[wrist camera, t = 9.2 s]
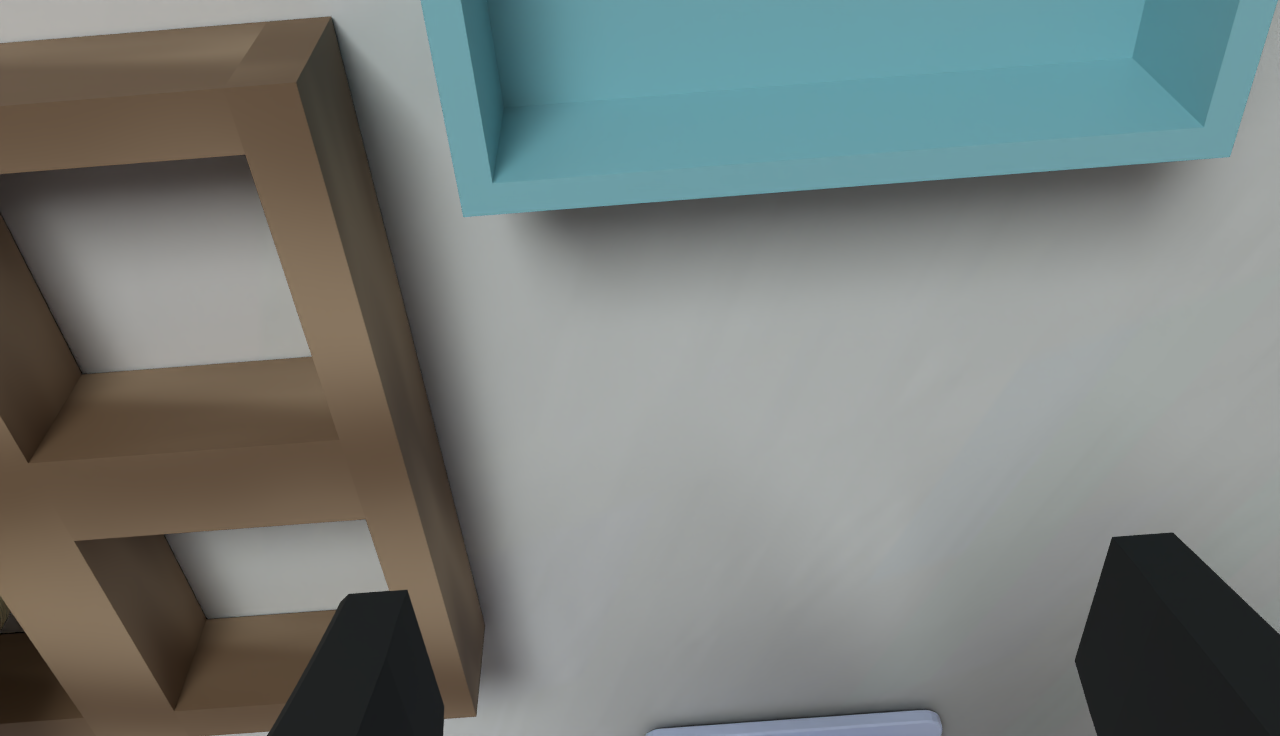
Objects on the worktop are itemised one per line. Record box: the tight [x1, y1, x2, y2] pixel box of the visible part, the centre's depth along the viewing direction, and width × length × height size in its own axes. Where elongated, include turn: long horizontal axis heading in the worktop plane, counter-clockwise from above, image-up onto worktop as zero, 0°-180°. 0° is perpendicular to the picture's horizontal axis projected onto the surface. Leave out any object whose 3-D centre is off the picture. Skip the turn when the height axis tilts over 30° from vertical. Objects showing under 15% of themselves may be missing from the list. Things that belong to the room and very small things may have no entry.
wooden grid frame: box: [0, 17, 485, 736], centre depth 20 cm, size 15×15×2 cm
